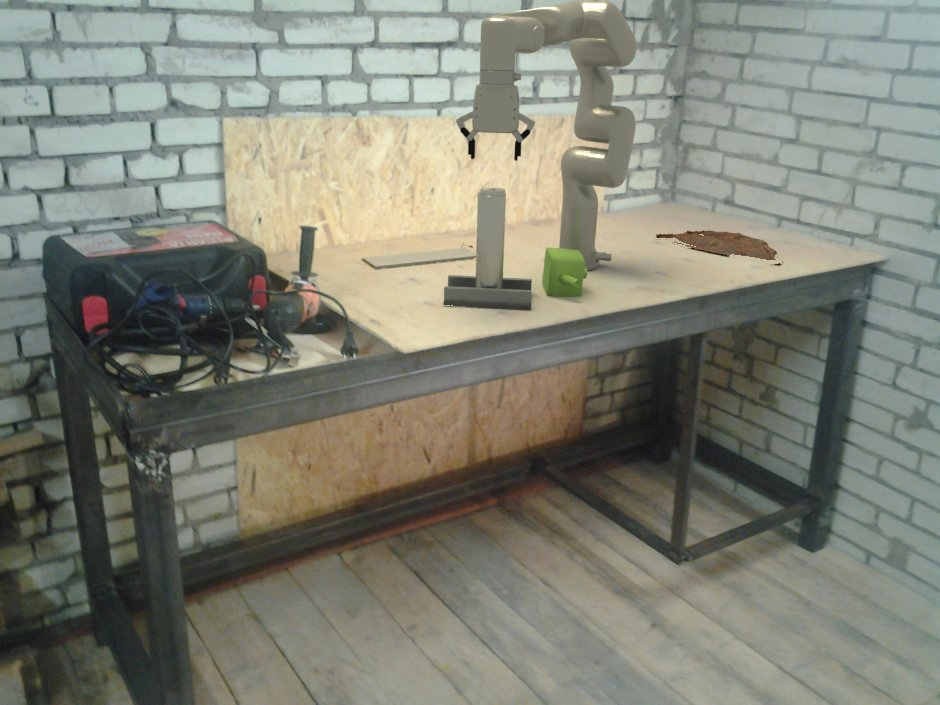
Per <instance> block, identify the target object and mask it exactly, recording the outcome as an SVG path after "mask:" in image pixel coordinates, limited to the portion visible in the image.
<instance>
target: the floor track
mask: <svg viewBox="0 0 940 705" xmlns="http://www.w3.org/2000/svg"><path fill="white" fill-rule="evenodd" d="M532 282H533V279H532V278H519V277H503V289H493V288H475V286H476V275H460V274H459V275H458V274H457V275H456V274H455V275H454V274H453V275H452V274H449V275H447V285H445V286H443V305H450V306H449V307H453V306H465V307H464V308H473V307H477V308H478V309H494V310H495V309H498V310H517V311H531V309H532V292H533V291H532V287H533V286H532V285H533V284H532ZM443 305H442V306H443ZM451 305H453V306H451ZM477 308H476V309H477Z"/></svg>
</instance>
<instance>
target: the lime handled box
mask: <svg viewBox="0 0 940 705" xmlns="http://www.w3.org/2000/svg"><path fill="white" fill-rule="evenodd" d="M542 270H543V271H542V285H543V288H544V291H545V293H546V296H547V295H548V296H555V297H582V292H583V291H582V290H583V284H584V280H585V279H587V276H588V270H587V268H585V260H584V258H583V256H582V254H581V253H580V251H579V250H571V249H562V248H559V247H546V248H545V253H544V262H543V269H542Z"/></svg>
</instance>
